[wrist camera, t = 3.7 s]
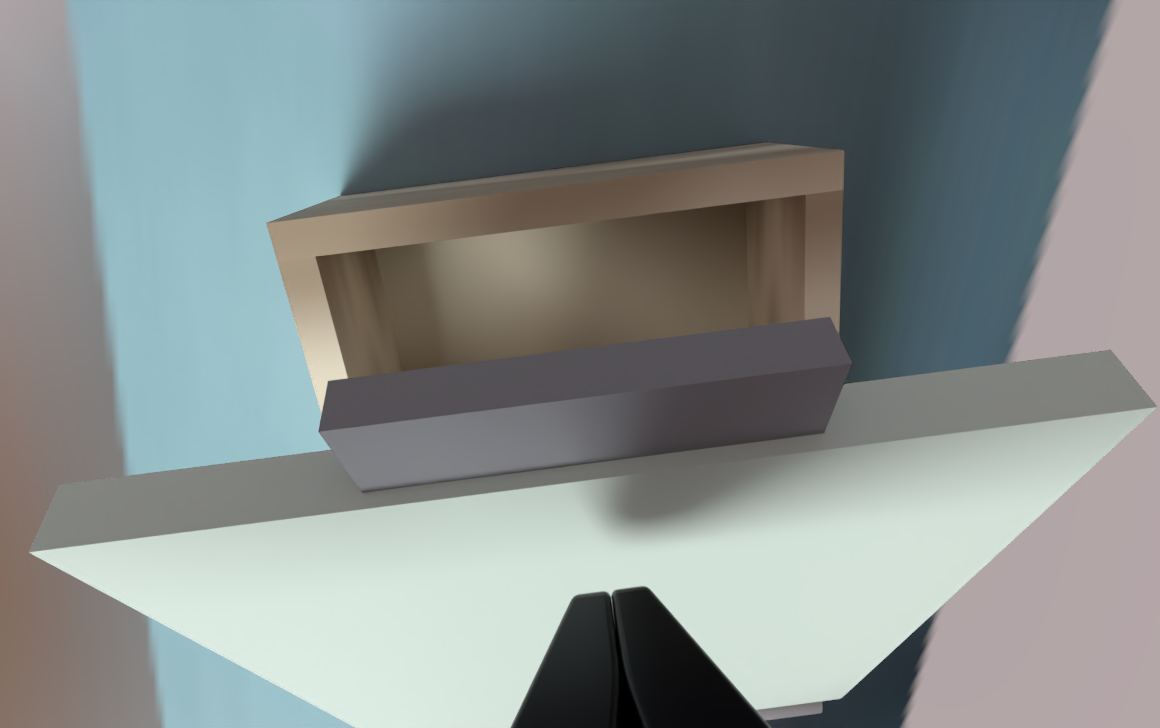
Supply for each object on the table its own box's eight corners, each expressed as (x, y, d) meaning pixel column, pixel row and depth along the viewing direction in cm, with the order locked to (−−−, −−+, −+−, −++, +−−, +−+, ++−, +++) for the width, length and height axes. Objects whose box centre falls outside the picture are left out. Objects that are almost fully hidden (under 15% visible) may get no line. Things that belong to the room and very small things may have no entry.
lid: (823, 676, 19) (834, 713, 18) (419, 729, 19) (417, 769, 18) (1178, 272, 6) (1255, 348, 6) (-27, 426, 6) (-83, 519, 6)
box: (771, 553, 23) (829, 664, 18) (437, 597, 23) (410, 719, 18) (766, 142, 18) (844, 149, 13) (339, 196, 18) (266, 222, 13)
